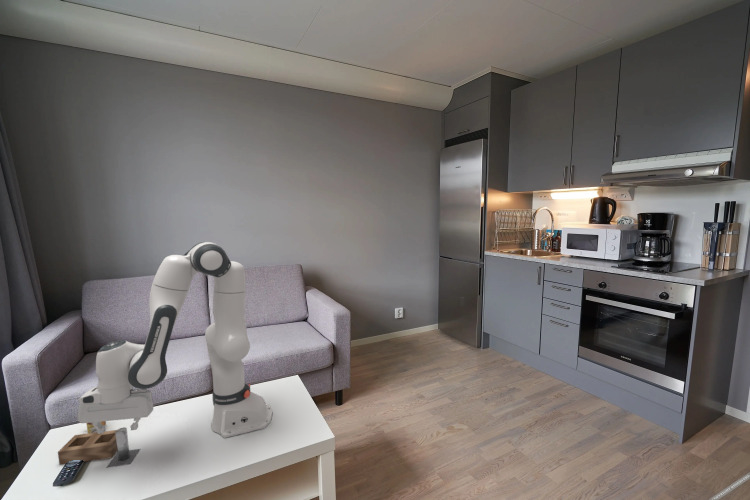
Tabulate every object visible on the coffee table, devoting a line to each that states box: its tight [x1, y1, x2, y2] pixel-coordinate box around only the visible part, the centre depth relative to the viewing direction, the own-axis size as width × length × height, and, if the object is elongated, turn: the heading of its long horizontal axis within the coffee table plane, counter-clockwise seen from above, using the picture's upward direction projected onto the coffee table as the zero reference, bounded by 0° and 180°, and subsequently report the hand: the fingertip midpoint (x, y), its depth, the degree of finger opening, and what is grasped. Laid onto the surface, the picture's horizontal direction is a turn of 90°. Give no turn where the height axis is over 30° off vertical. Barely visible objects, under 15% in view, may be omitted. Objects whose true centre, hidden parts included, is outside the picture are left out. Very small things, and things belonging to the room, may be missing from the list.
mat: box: [105, 448, 141, 469], centre depth 108 cm, size 7×7×1 cm
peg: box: [115, 426, 130, 461], centre depth 107 cm, size 3×3×10 cm
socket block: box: [57, 429, 118, 466], centre depth 110 cm, size 15×8×5 cm, turn 102°
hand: (118, 430), depth 106 cm, fingers open, 8 cm apart
